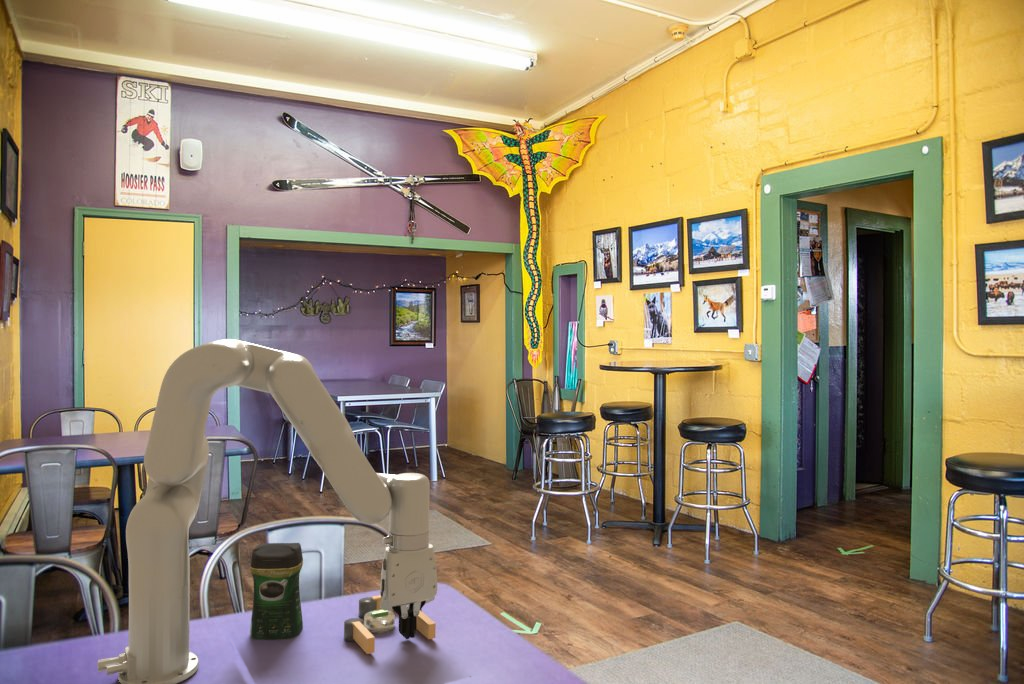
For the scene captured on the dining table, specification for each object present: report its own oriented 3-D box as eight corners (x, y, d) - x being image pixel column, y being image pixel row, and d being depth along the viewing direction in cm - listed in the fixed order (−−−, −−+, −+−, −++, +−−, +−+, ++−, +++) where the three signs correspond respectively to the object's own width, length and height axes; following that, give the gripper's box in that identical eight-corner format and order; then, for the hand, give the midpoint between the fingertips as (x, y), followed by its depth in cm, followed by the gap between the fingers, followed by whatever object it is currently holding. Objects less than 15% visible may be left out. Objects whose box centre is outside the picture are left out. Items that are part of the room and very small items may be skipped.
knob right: (400, 622, 145) (400, 606, 145) (416, 619, 147) (417, 602, 146) (423, 643, 135) (423, 626, 135) (440, 639, 137) (440, 622, 137)
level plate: (350, 663, 130) (351, 638, 130) (320, 626, 146) (320, 604, 145) (440, 641, 140) (440, 618, 140) (403, 609, 155) (403, 588, 155)
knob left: (341, 635, 138) (341, 618, 138) (359, 631, 140) (359, 614, 140) (361, 658, 129) (361, 640, 129) (380, 654, 131) (380, 635, 131)
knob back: (362, 619, 146) (362, 603, 146) (356, 613, 149) (356, 597, 149) (411, 609, 151) (411, 593, 151) (404, 603, 154) (404, 588, 154)
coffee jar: (306, 629, 144) (307, 537, 144) (297, 647, 136) (298, 550, 136) (256, 630, 144) (257, 537, 143) (244, 648, 136) (245, 550, 135)
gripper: (378, 551, 129) (377, 652, 129) (453, 539, 137) (451, 634, 137) (364, 540, 135) (362, 636, 136) (435, 529, 143) (434, 620, 144)
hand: (407, 635), depth 137 cm, fingers closed
